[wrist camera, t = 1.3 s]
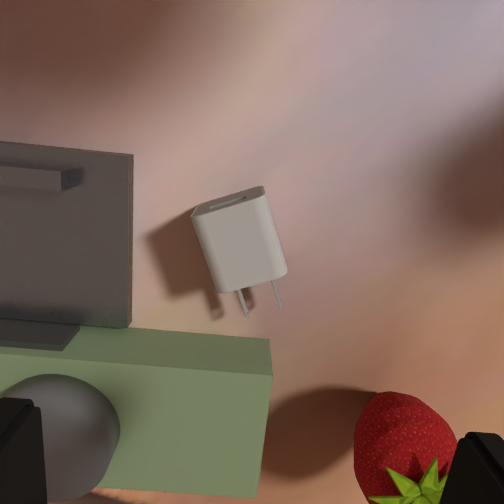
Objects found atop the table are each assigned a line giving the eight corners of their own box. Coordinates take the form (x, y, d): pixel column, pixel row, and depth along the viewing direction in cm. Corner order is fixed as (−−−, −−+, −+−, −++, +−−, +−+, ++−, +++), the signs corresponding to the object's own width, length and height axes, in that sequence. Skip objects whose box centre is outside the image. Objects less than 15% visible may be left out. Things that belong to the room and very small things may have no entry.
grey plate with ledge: (-85, 132, 22) (-125, 133, 20) (133, 154, 22) (119, 157, 20) (-60, 304, 25) (-92, 323, 23) (131, 321, 26) (119, 340, 23)
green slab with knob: (-108, 302, 25) (-214, 353, 19) (269, 334, 26) (276, 392, 20) (-85, 424, 28) (-172, 501, 22) (255, 449, 29) (257, 529, 23)
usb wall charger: (262, 184, 23) (265, 195, 19) (293, 289, 25) (301, 318, 21) (197, 204, 23) (187, 219, 20) (233, 306, 25) (230, 337, 22)
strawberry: (339, 448, 29) (384, 607, 19) (329, 359, 27) (375, 489, 17) (420, 437, 29) (507, 592, 19) (417, 346, 26) (514, 471, 17)
